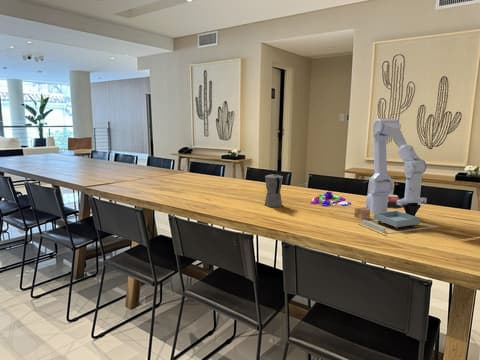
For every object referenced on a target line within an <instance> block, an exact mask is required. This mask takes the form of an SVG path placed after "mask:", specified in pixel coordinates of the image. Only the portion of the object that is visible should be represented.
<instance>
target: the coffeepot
mask: <svg viewBox="0 0 480 360" xmlns="http://www.w3.org/2000/svg"><path fill="white" fill-rule="evenodd" d="M283 177H284V176H282V175H279V174H276V170H273V171H272V174H268V175H265V176H264V179H265V187H266V194H265V195H266V196H265V200H264V206H265V207H268V208H280V207H282V205H283V202H282V194H281V190H282V185H283Z"/></svg>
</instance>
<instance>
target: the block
mask: <svg viewBox="0 0 480 360" xmlns="http://www.w3.org/2000/svg"><path fill="white" fill-rule="evenodd" d="M370 217H371V211H370V209H368V208H366V206H357V207H355V208H354V218H357V219H359V220H367V219H370Z"/></svg>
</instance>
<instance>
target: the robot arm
mask: <svg viewBox="0 0 480 360" xmlns="http://www.w3.org/2000/svg"><path fill="white" fill-rule="evenodd" d="M401 128H402V124H401V123H400V120H398V119H396V118H389V119H388V118H377V119H375V121H374V123H373V124H372V134H373V135H372V137H373V161H374V165H373V166H374V167H373V168H374V169H373V170H374V173H373V174H372V176H371V177H369V178H368V180H369V183H368V186H367V187H368V191H369V193H368V194H367V195H366V201H365V208H368V209H370V212H372V213H379V212H388V207H387V204H388V195H391V193H392V191H393V189H394V184H393V181H392V177H391V176H390V175H389V174H387V173H388V167H387V166H388V162H387V160H388V159H387V140H388V139H389V138H391V139H392V140H393V142H394V143H395V145H396V146H397V147H398V151H397V153H398V155H399V156H400V158H401V160H402V162H403V171H404V172H405V175H404V176H405V178H406V179H405V186H404V187H405V189H404V197H402V198H399V199H400V200H397V205H400V206H401V207H402V208H403V209H404V213H406V214H409V215H412V216H415V217H416V215H417V212H418V211H419V210H420V208H421V206H422V205H421V203H423V204H425V203H426V204H427V201H428V200H427V197H421V192H422V189H421V188H422V180H423V174H424V173H426V170H427V163H426V161H425V160H424V159H421V158H420V157H419V155H418V154H417V153H416V151H415V150H414V147H413V145H410V144H408V143H407V141H406V138H405V137H404V135H403V132H402V131H401Z"/></svg>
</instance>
